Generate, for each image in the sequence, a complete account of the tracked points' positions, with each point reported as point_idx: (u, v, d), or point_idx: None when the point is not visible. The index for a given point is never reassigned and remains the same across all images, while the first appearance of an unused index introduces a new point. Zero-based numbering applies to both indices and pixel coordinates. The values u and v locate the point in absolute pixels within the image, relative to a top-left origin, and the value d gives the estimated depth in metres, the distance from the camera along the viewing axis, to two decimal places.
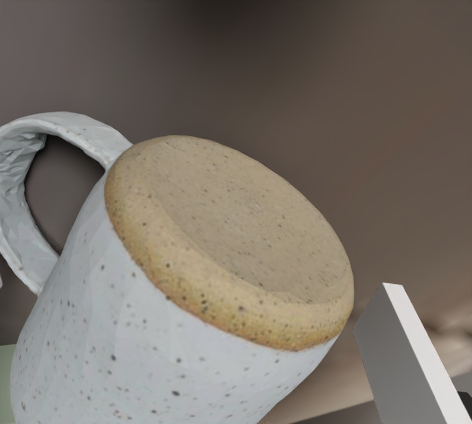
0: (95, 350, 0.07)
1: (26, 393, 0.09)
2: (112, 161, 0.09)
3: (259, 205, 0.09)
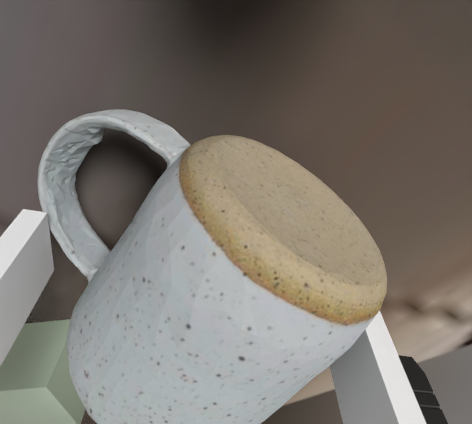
0: (170, 320, 0.08)
1: (91, 362, 0.10)
2: (175, 156, 0.10)
3: (304, 200, 0.10)
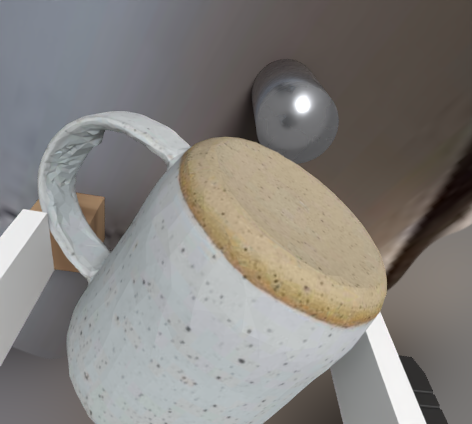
0: (170, 323, 0.08)
1: (91, 364, 0.10)
2: (175, 158, 0.10)
3: (304, 202, 0.10)
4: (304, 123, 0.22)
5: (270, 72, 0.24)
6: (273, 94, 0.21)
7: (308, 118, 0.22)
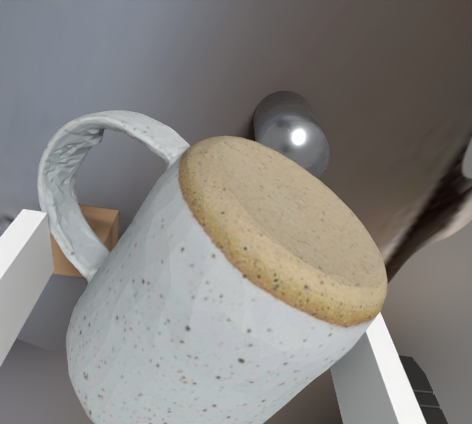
0: (169, 322, 0.08)
1: (90, 364, 0.10)
2: (175, 157, 0.10)
3: (303, 202, 0.10)
4: (300, 155, 0.25)
5: (270, 105, 0.27)
6: (272, 131, 0.24)
7: (303, 151, 0.25)
